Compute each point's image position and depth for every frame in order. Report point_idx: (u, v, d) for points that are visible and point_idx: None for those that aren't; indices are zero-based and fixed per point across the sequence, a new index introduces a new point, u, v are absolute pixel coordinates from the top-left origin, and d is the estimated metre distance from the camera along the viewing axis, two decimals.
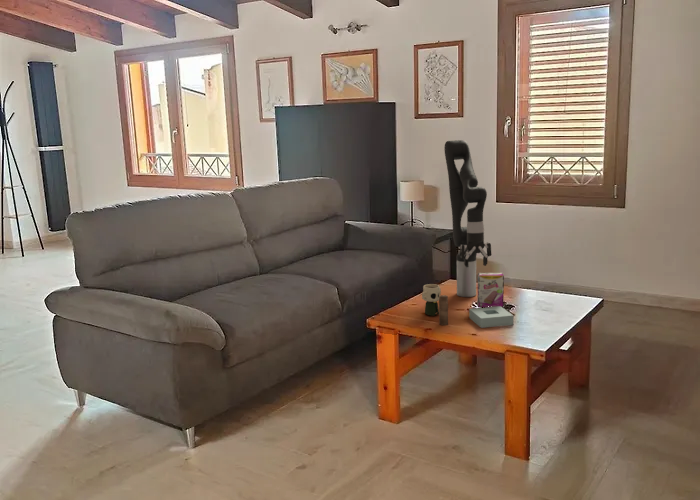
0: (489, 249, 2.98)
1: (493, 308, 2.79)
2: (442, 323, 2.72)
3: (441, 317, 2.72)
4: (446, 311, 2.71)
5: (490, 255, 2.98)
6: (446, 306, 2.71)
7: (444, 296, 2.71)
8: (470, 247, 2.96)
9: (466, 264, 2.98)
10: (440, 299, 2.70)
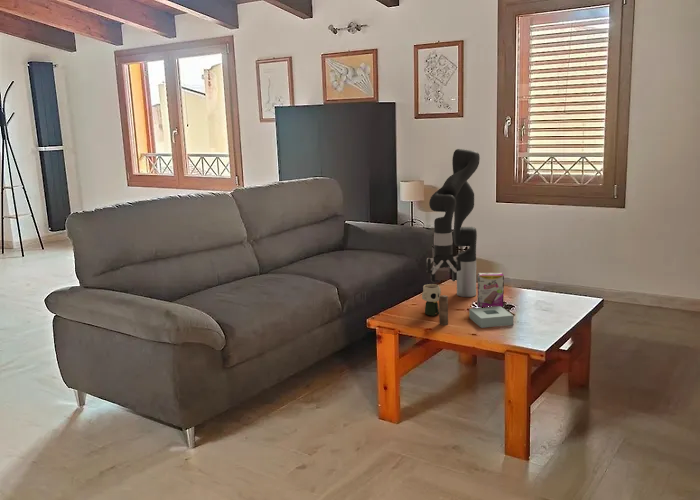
0: (458, 263, 2.68)
1: (493, 308, 2.79)
2: (442, 323, 2.72)
3: (441, 317, 2.72)
4: (446, 311, 2.71)
5: (459, 270, 2.69)
6: (446, 306, 2.71)
7: (444, 296, 2.71)
8: (437, 261, 2.67)
9: (433, 279, 2.68)
10: (440, 299, 2.70)
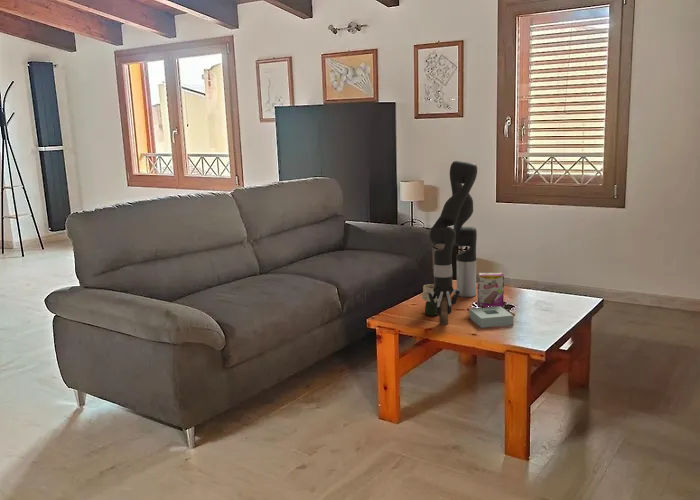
0: (455, 297, 2.71)
1: (493, 308, 2.79)
2: (442, 323, 2.72)
3: (441, 317, 2.72)
4: (446, 311, 2.71)
5: (454, 303, 2.71)
6: (446, 306, 2.71)
7: None
8: (437, 293, 2.69)
9: (438, 312, 2.71)
10: None
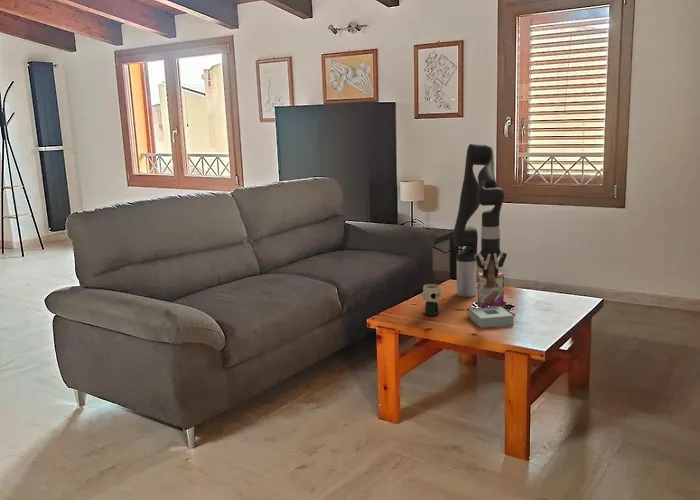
0: (503, 259, 2.69)
1: (493, 308, 2.79)
2: (489, 286, 2.70)
3: (488, 280, 2.70)
4: (493, 274, 2.69)
5: (501, 266, 2.70)
6: (493, 269, 2.69)
7: (491, 259, 2.69)
8: (485, 256, 2.68)
9: (485, 275, 2.70)
10: None
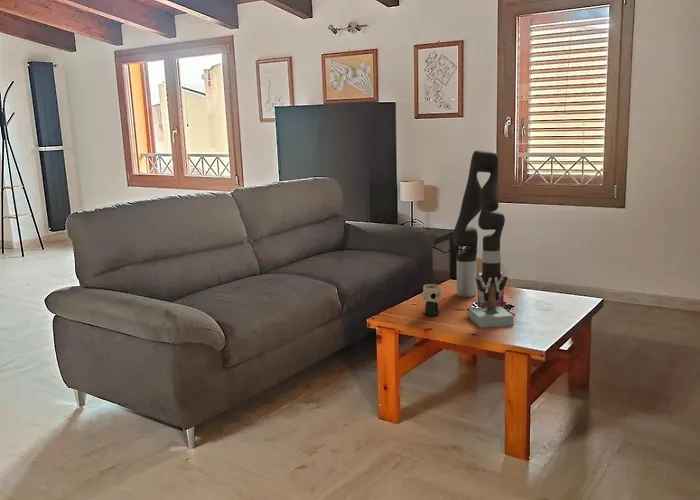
0: (503, 283, 2.71)
1: None
2: (490, 309, 2.72)
3: (489, 303, 2.72)
4: (494, 297, 2.71)
5: (502, 289, 2.72)
6: (494, 292, 2.71)
7: None
8: (486, 279, 2.70)
9: (486, 298, 2.72)
10: None
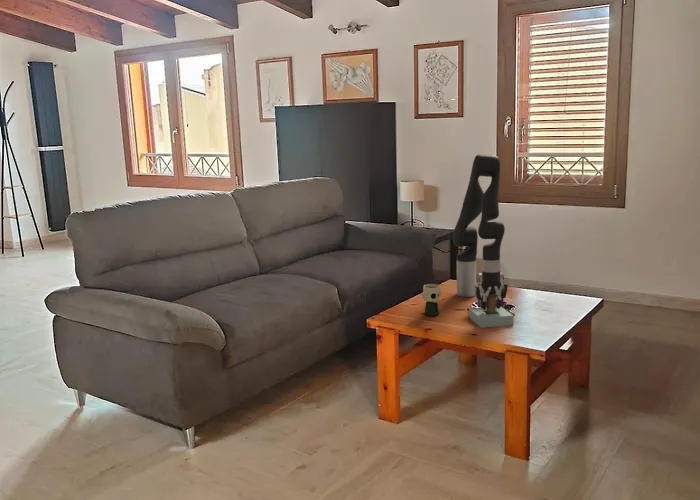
0: (505, 291, 2.72)
1: None
2: None
3: None
4: (494, 308, 2.72)
5: (504, 297, 2.72)
6: (494, 303, 2.72)
7: (492, 293, 2.72)
8: (485, 288, 2.70)
9: (483, 307, 2.72)
10: (488, 296, 2.71)
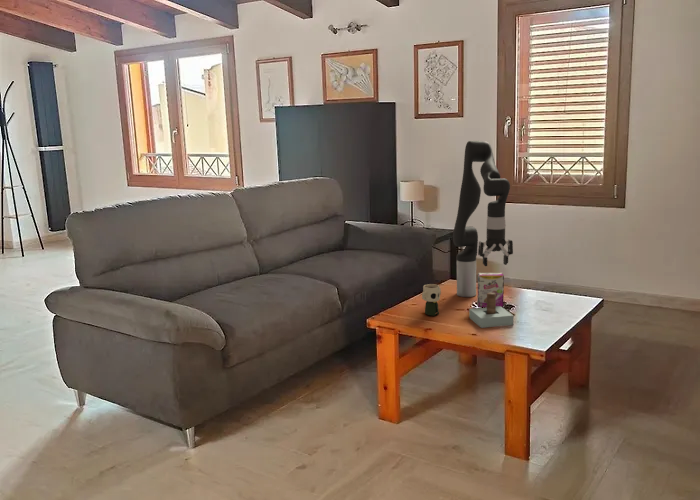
0: (510, 247, 2.71)
1: None
2: None
3: None
4: (494, 308, 2.72)
5: (511, 253, 2.72)
6: (494, 303, 2.72)
7: (492, 293, 2.72)
8: (490, 244, 2.70)
9: (485, 263, 2.72)
10: (488, 296, 2.71)
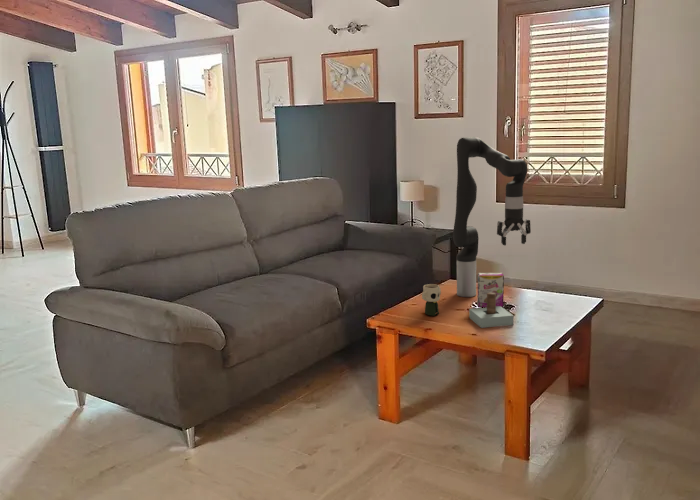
0: (528, 226, 2.79)
1: None
2: None
3: None
4: (494, 308, 2.72)
5: (529, 233, 2.79)
6: (494, 303, 2.72)
7: (492, 293, 2.72)
8: (508, 224, 2.77)
9: (503, 242, 2.79)
10: (488, 296, 2.71)
